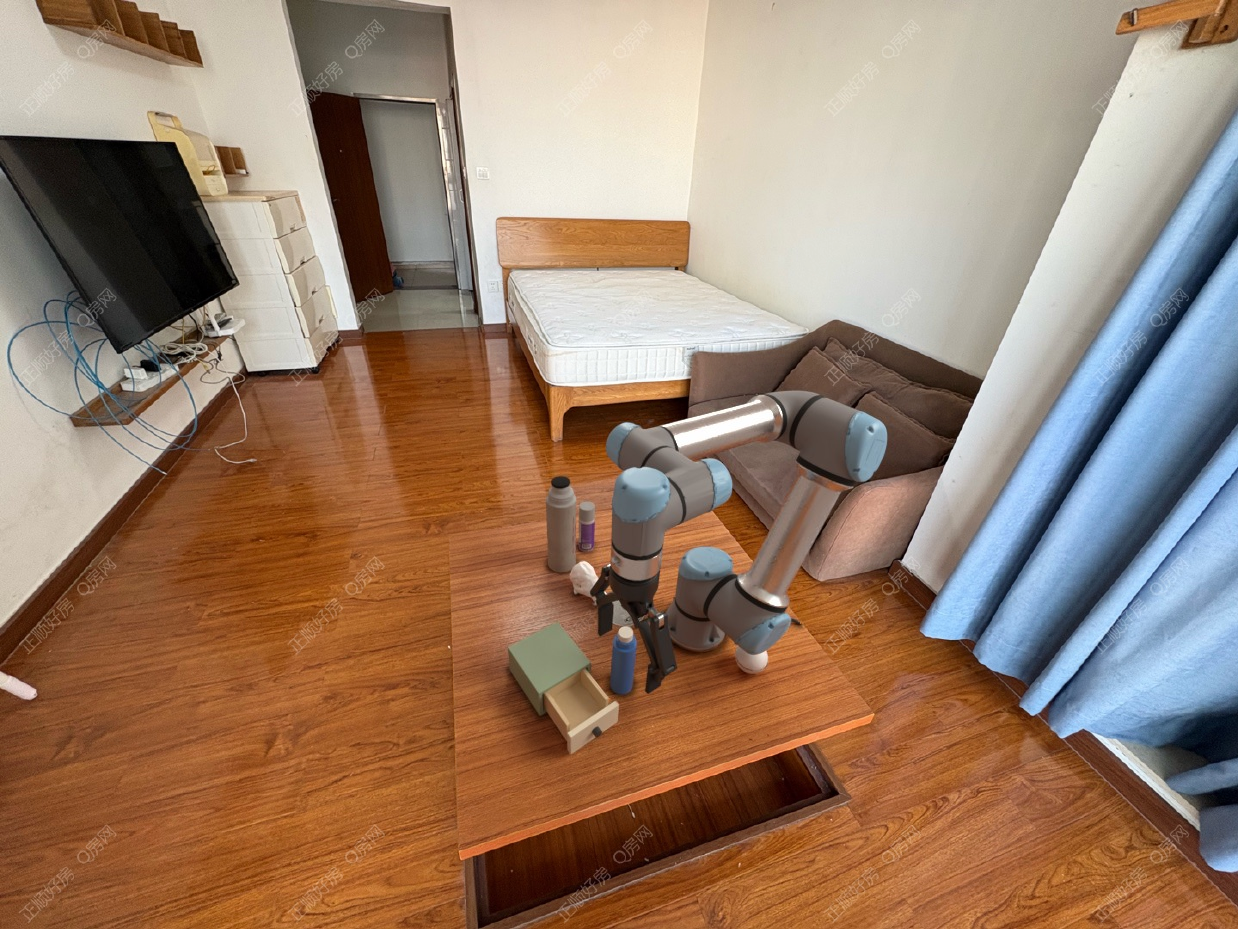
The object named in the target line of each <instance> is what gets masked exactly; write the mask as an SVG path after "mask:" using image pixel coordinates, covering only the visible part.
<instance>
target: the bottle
mask: <svg viewBox="0 0 1238 929" xmlns="http://www.w3.org/2000/svg"><path fill="white" fill-rule="evenodd" d="M637 647H638V640H637V639H636V636H635V634H634V630H633V629H632V627H630V626H621V627H620V628H619V629H618V631H617V633H616V635H615V636H614V637H613V639H612V648H611V662H610V664H611V665H610V677H609V678H610V679H609V687H610V689H611V691H612V692H613V693H615V694H617V695H620V696H621V695H622V696H623V695H627V694H629V693H630V692H631V691H632V689H633V685H634V675H635V668H636V666H635V665H636V659H637V658H636V656H637Z"/></svg>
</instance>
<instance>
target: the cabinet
mask: <svg viewBox="0 0 1238 929" xmlns="http://www.w3.org/2000/svg"><path fill="white" fill-rule="evenodd" d="M507 656H508V667H509V671H510V673H511V674H512V675H513V677H514V679H515V681H516V682H517V683H518V685H519V686H520V688H521V690H522V691H523V693H524V694H525V695H526V697H527V699H528V700H529V702H530V704H531V705H532V706H533V708H534V709H535V711H536V712H537V714H538V716H539V717H541V716H543V715H545V714H546V713H547V711H546V710H545V708H544V707H543V696H542V694H543V693H545V692H547V691H548V690H550V689H552V688H553V687H555V686H557V685H558V684H560V683H562V682H563V681H565V680H567V679H568V678H570V677H572V676H573V675H575V674H576V673H578V672H580V671H581V670H583V669H586V670H587V671H588V672H589V674H590V675H591V673H592V672H591V671H592V662H591V661H590V659H589V658H588V657H587V656H586V654H585V653H584V652H583V651H582V649H581V648H580V647H579V646H578V644H577V643H576V642H575V641H574V640H573V639H572V638H571V636H570V634H568V632H567V631H566V630H565V629H564V627H563V626H562V625H561V624H560V623H559V621H555V622H553V623H551V624H550V625H547V626H546V627H543V628H542V629H540V630H538V631H536V632H534V633H532V634H530V635H528V636H527V637H524V638H523V639H521V640H519V641H517V642H515V643H513V644H511V645H509V646H508V647H507ZM591 676H592V675H591Z"/></svg>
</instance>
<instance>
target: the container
mask: <svg viewBox="0 0 1238 929" xmlns="http://www.w3.org/2000/svg"><path fill="white" fill-rule="evenodd" d="M595 531H596V505H595V503H594V502H592V501H588V500H587V501H585V500H584V501H582V502H581V503H579V506H578V539H577V540H578V541H577V542H578V544H577V546H578V549H579V551H581V552H585V553H587V552H588V553H589V552H592V551H593V550H594V549H595Z"/></svg>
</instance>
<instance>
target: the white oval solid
mask: <svg viewBox="0 0 1238 929" xmlns="http://www.w3.org/2000/svg"><path fill="white" fill-rule="evenodd" d="M734 659H735V662H736V664H737V666H738V667H739V669H740V670H741V671H743V672H745V673H747V674H750V675H755V674H759V673H761V672H763V671H764V670H765V671H767V672H768V673H770V674H772V675H773V673H772V672H770V671H769V670H767V669H766V667H767V666H768V664H769V654H768V652H767V650H766V651H764V652H763V653H760V654H757V655H750V654H748V653H746V652H745V651H744V650H743V649H742V648H740V647H739V646H738V645H737V647H736V649H735V653H734Z"/></svg>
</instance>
